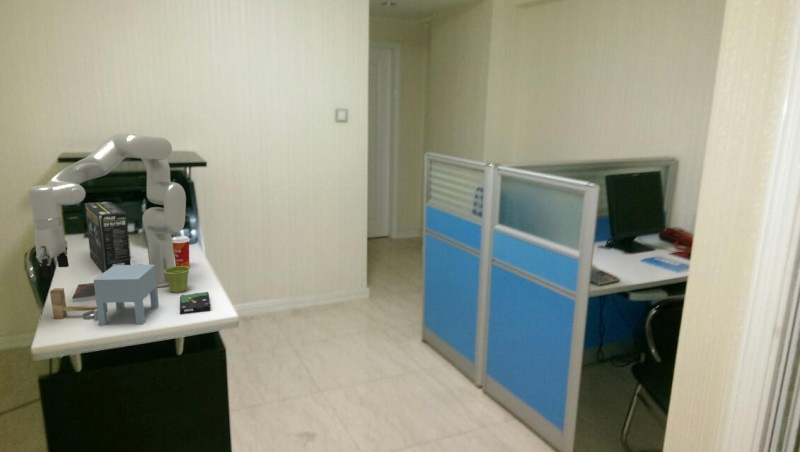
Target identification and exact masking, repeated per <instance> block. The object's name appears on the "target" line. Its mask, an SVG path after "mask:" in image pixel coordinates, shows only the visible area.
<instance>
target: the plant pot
mask: <svg viewBox="0 0 800 452" xmlns="http://www.w3.org/2000/svg"><path fill="white" fill-rule="evenodd" d="M164 273H166V276H167V279H168V283H169V286H168V287H169V290H170V292H172V293H174V294H175V293H176V294H178V293H183V292H186V291H187V290H188V279H189V278H188V277H189V274H190V266H189V267H186V266H177V267H176V266H175V267H171V268H168V269H166V270H164Z"/></svg>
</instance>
